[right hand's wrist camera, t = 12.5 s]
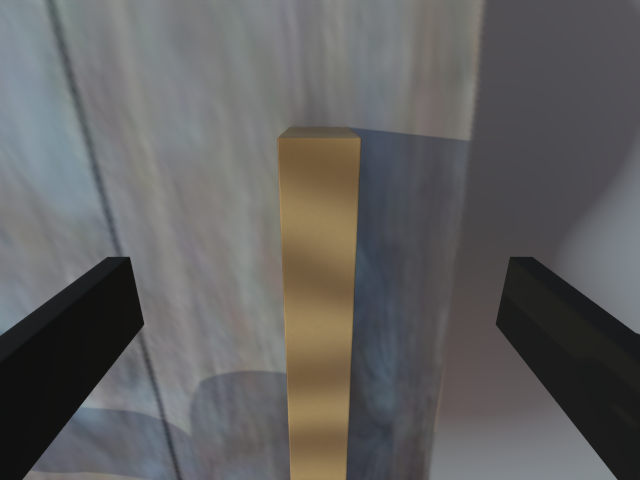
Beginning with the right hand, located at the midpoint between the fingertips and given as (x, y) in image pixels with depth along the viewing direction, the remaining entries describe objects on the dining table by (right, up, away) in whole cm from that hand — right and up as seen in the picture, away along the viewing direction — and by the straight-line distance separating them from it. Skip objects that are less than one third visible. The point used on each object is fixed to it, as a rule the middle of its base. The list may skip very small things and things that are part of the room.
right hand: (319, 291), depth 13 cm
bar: (0, -21, +30) cm, 36 cm away
